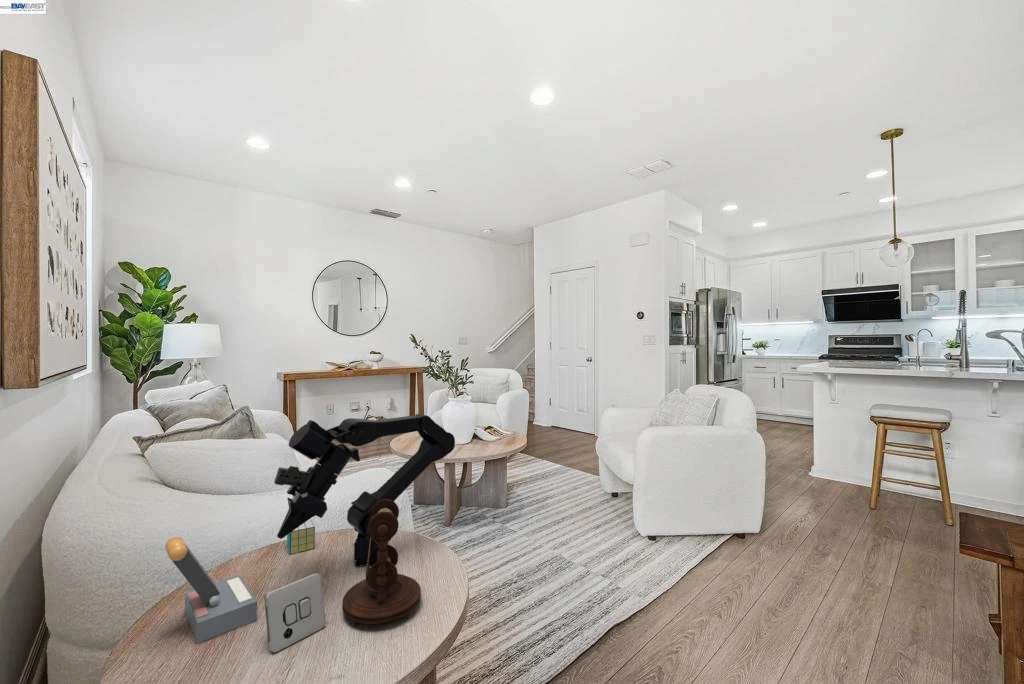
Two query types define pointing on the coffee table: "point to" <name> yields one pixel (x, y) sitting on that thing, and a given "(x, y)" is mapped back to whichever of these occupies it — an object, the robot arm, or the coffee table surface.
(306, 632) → the electrical switch
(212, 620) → the block
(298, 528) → the puzzle toy
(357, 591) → the brown wooden tower
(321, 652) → the coffee table surface
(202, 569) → the lever
